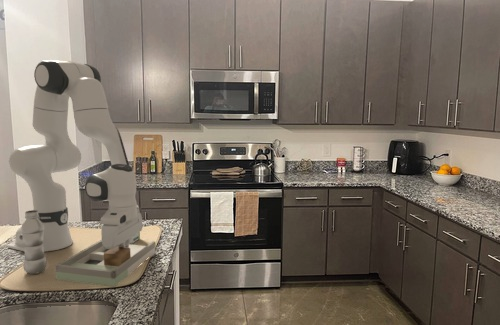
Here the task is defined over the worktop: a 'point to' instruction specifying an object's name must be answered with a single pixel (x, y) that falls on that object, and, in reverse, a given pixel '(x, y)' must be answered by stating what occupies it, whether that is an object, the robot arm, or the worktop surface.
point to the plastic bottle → (33, 243)
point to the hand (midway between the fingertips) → (124, 252)
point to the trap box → (101, 265)
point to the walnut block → (116, 256)
